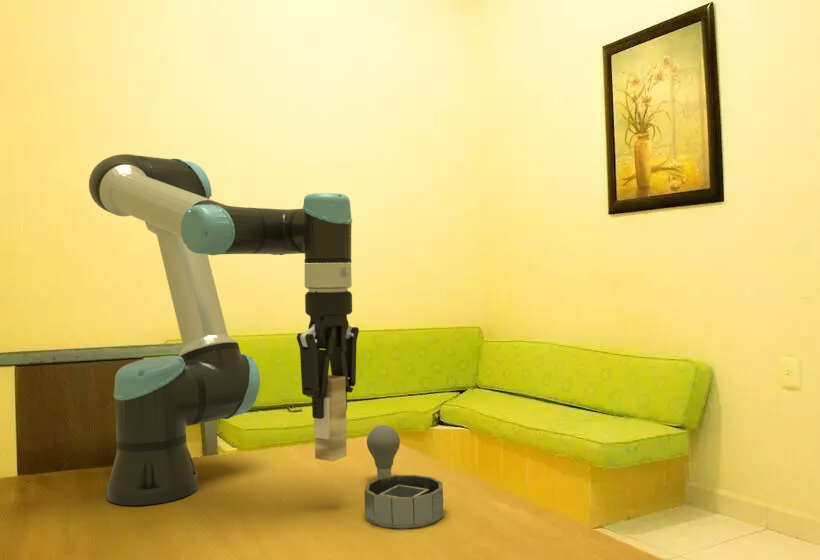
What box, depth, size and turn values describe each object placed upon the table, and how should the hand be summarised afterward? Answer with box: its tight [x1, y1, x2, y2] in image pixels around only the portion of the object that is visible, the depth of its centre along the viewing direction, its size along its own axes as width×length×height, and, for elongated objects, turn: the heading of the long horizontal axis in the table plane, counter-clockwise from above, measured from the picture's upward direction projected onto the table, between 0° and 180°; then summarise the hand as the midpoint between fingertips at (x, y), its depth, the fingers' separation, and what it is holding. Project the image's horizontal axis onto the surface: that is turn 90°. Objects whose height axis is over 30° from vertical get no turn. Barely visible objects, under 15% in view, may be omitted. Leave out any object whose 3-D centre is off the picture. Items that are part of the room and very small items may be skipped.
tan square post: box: [314, 374, 347, 462], centre depth 116 cm, size 4×4×13 cm
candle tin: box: [363, 474, 444, 530], centre depth 111 cm, size 12×12×4 cm
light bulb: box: [366, 424, 401, 479], centre depth 130 cm, size 6×6×10 cm
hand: (330, 434), depth 116 cm, fingers closed on tan square post, 4 cm apart
